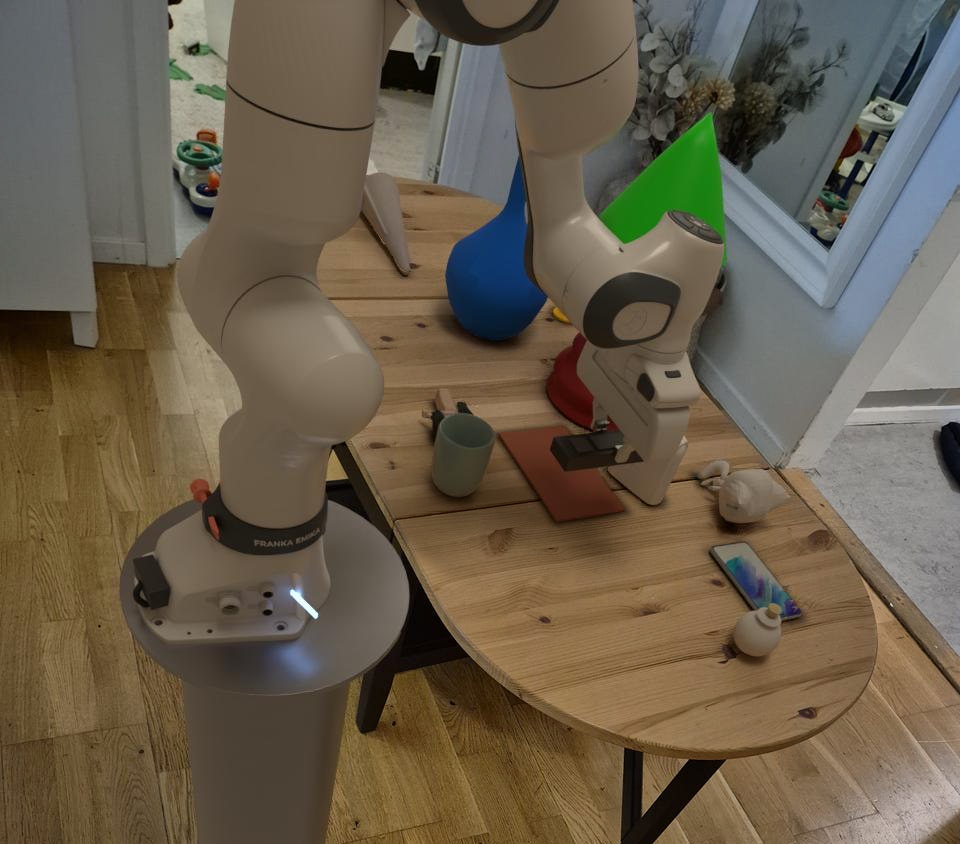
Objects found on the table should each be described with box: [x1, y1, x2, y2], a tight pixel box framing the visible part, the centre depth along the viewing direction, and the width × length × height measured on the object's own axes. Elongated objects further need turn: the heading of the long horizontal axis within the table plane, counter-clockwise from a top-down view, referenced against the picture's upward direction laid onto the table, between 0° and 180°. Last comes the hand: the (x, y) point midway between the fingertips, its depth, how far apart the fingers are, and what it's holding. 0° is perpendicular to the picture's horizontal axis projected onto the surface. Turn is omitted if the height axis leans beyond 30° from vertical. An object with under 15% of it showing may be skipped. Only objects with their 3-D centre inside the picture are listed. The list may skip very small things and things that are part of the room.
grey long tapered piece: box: [361, 171, 411, 276], centre depth 161 cm, size 8×9×26 cm
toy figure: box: [421, 387, 474, 438], centre depth 125 cm, size 7×6×15 cm
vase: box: [444, 155, 549, 341], centre depth 138 cm, size 18×18×30 cm
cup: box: [430, 412, 496, 498], centre depth 115 cm, size 8×8×10 cm
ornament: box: [732, 596, 804, 657], centre depth 107 cm, size 6×7×10 cm
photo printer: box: [607, 435, 689, 506], centre depth 124 cm, size 10×4×12 cm, turn 41°
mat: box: [498, 425, 626, 523], centre depth 126 cm, size 12×20×1 cm, turn 24°
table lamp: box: [546, 111, 728, 431], centre depth 125 cm, size 20×20×45 cm
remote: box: [550, 430, 644, 472], centre depth 111 cm, size 15×5×2 cm, turn 114°
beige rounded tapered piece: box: [695, 460, 791, 524], centre depth 128 cm, size 10×8×15 cm
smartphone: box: [709, 540, 803, 622], centre depth 119 cm, size 7×1×15 cm
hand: (607, 445), depth 111 cm, fingers closed on remote, 4 cm apart
